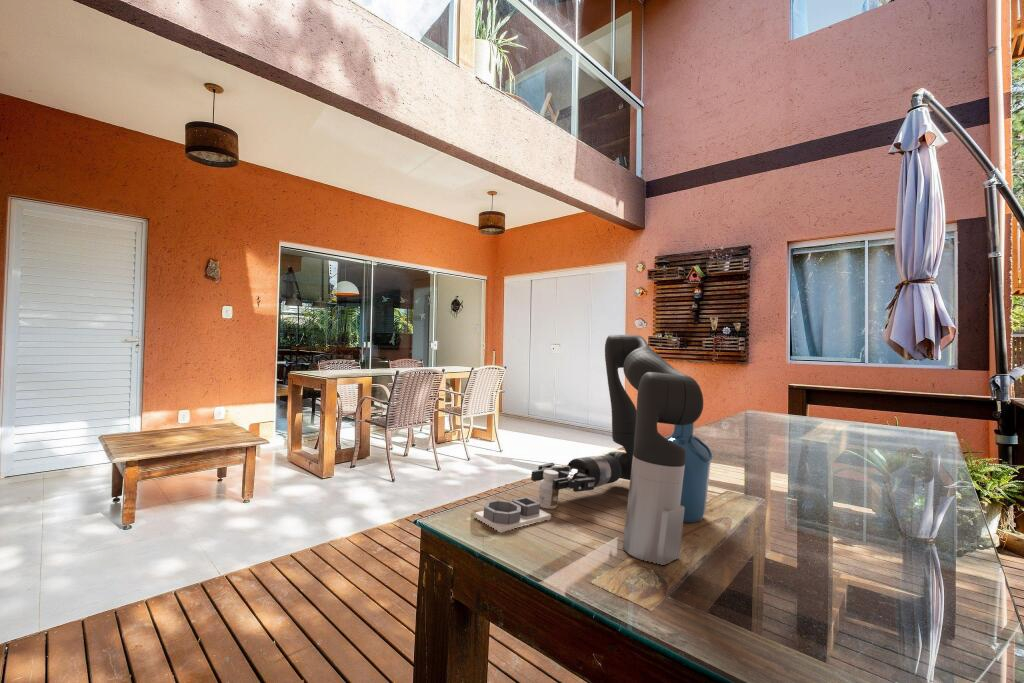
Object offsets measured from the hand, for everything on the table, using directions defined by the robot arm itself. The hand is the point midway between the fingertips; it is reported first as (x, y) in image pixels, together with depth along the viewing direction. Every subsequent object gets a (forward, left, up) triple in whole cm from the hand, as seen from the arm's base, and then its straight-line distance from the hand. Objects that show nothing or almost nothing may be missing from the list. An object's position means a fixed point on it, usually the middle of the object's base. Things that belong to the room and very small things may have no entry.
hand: (543, 480), depth 100 cm
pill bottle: (0, -2, -6) cm, 7 cm away
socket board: (-2, +10, -6) cm, 12 cm away
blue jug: (-18, -28, -6) cm, 34 cm away
